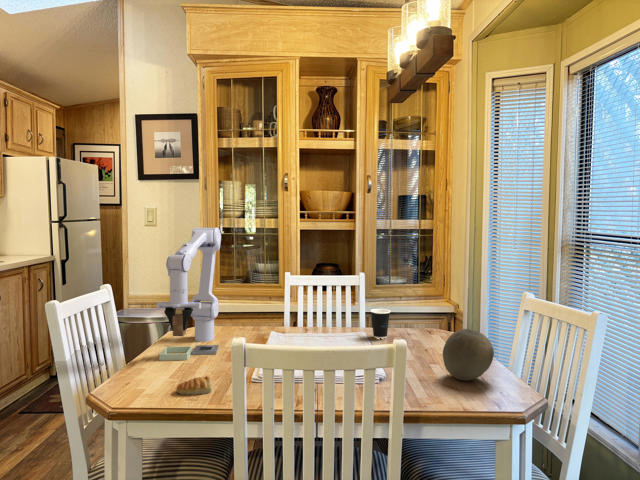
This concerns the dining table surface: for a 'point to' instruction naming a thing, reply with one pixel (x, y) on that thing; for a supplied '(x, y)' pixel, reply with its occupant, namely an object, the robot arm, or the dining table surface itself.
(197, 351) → the socket block
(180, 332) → the strut
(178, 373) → the dining table surface
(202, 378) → the pastry
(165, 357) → the bin
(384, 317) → the dixie cup
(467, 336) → the cantaloupe
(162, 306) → the robot arm
